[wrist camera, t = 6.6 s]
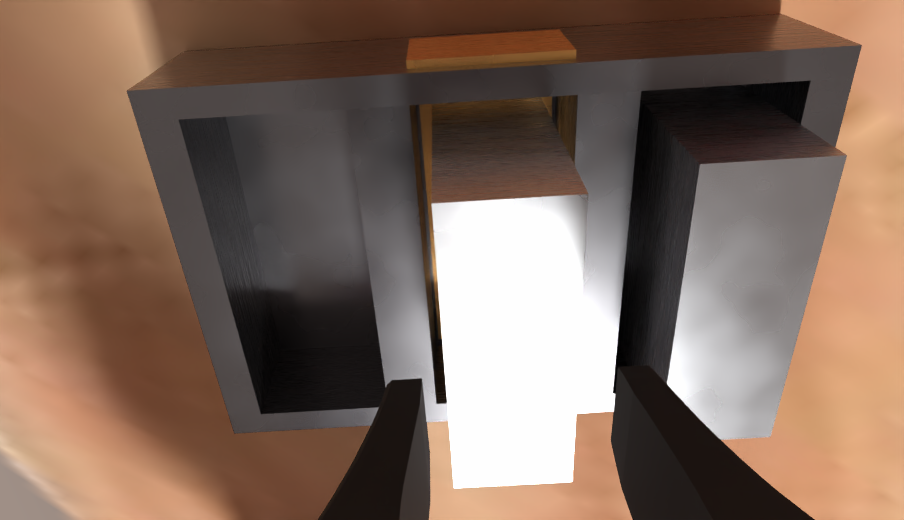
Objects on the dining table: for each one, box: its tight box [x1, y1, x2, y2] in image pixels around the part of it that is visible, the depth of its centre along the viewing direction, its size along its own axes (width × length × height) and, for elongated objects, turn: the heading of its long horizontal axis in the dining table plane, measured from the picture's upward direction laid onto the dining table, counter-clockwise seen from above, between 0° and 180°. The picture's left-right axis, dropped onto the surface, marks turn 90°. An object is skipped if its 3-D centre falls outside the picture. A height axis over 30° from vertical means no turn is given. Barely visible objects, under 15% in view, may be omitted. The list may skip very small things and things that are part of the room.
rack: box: [127, 14, 862, 440], centre depth 18 cm, size 11×17×7 cm, turn 93°
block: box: [431, 97, 589, 488], centre depth 17 cm, size 8×3×7 cm, turn 3°
